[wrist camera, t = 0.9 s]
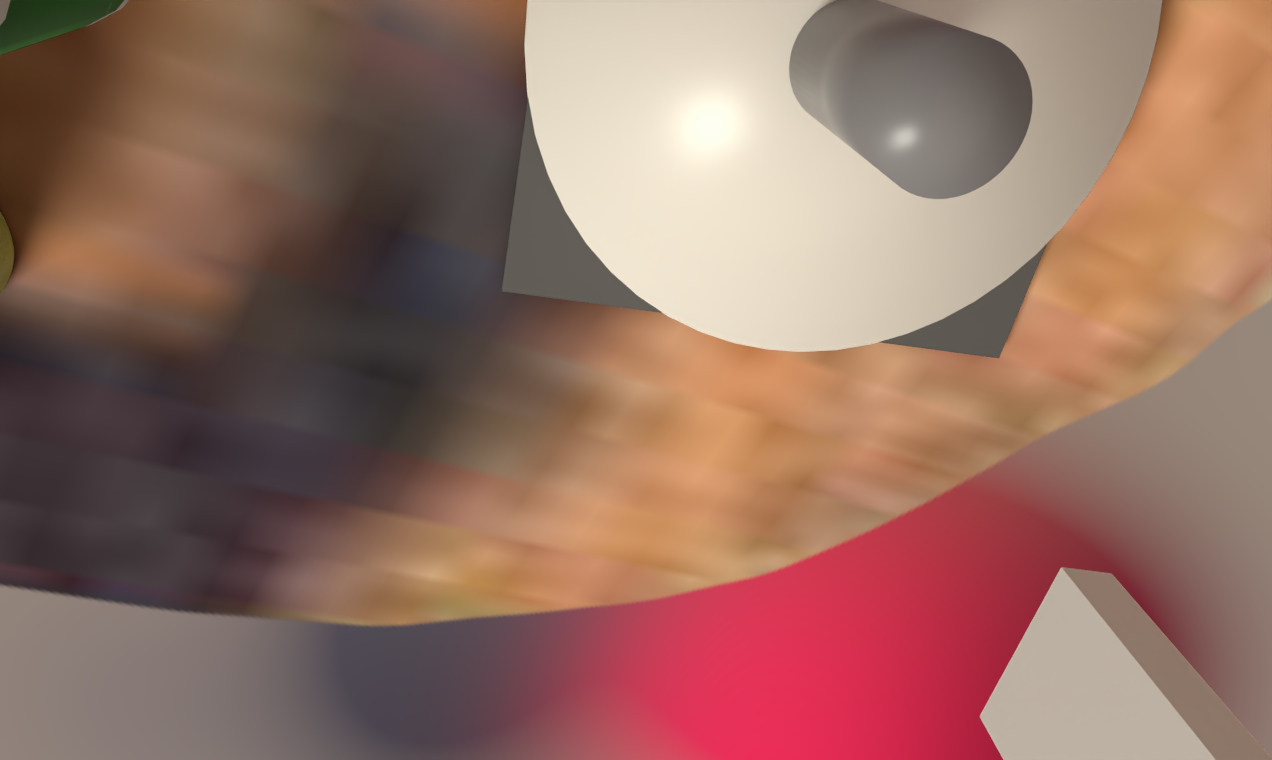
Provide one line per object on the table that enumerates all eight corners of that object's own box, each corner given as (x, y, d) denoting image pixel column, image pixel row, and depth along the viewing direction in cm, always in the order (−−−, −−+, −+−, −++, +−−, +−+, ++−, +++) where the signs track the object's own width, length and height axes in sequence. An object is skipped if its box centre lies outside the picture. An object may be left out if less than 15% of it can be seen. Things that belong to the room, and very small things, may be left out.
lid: (582, -427, 26) (614, -584, 18) (1259, -234, 31) (1560, -281, 22) (487, 300, 37) (477, 434, 28) (1004, 369, 41) (1138, 504, 32)
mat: (595, -395, 27) (596, -401, 27) (1227, -218, 31) (1239, -220, 31) (502, 285, 37) (501, 290, 37) (992, 352, 41) (998, 358, 41)
